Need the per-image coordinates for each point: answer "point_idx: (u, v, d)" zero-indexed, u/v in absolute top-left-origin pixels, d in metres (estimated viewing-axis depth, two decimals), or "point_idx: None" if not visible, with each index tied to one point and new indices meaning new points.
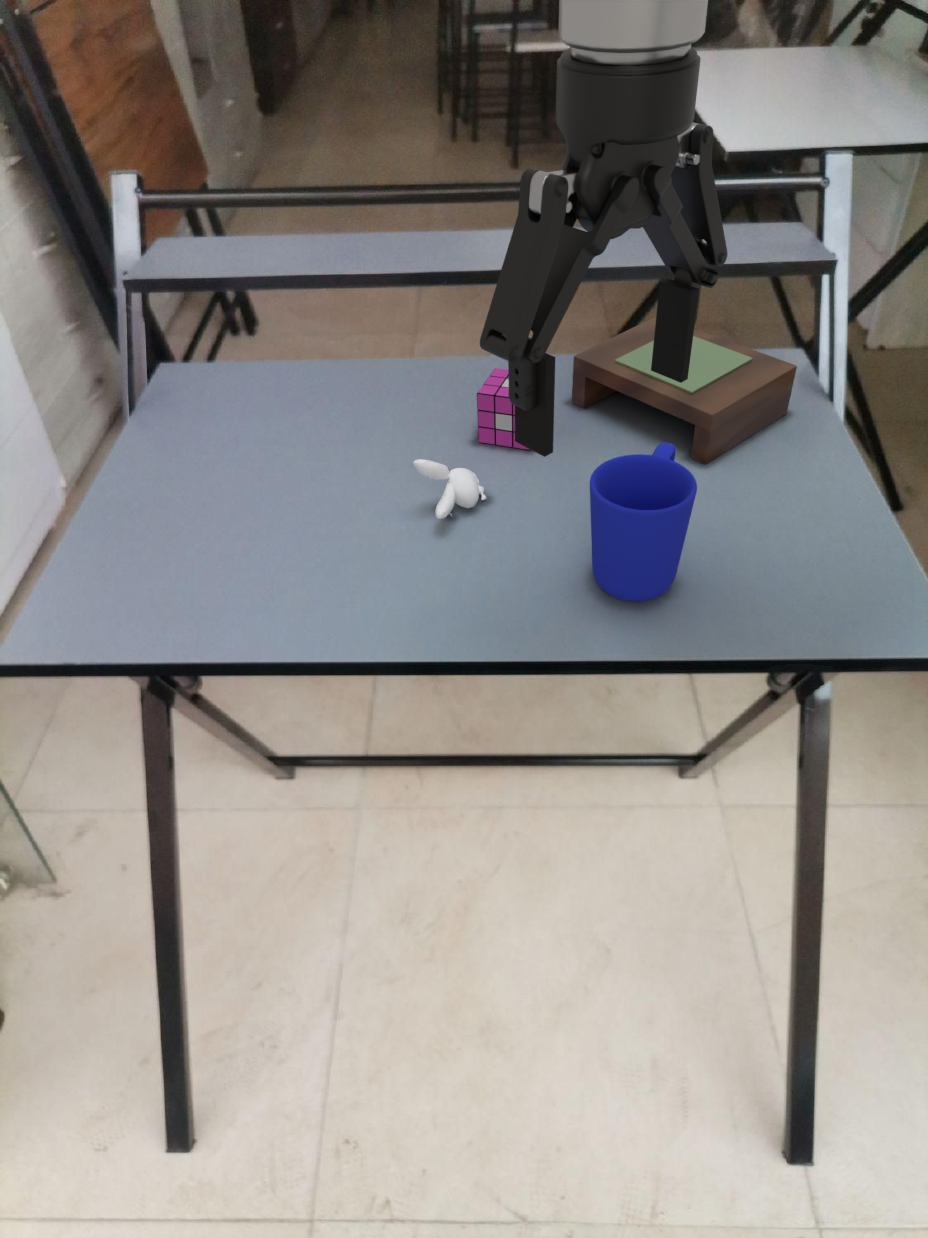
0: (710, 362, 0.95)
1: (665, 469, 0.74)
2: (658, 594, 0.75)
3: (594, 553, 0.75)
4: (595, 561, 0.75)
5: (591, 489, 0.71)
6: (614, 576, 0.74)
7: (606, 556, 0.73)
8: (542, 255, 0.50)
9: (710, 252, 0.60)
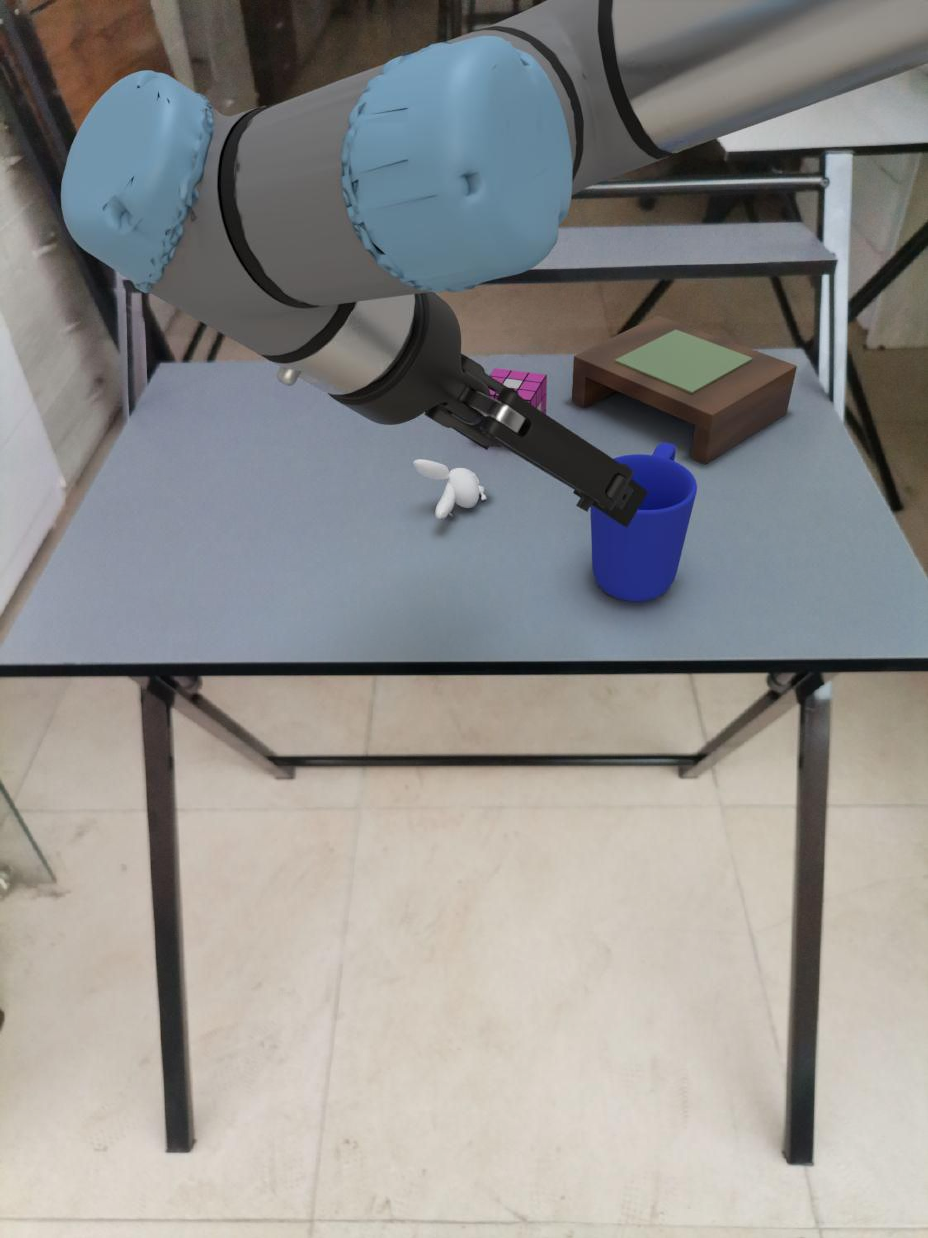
0: (710, 362, 0.95)
1: (665, 469, 0.74)
2: (658, 594, 0.75)
3: (594, 553, 0.75)
4: (595, 561, 0.75)
5: None
6: (614, 576, 0.74)
7: (606, 556, 0.73)
8: (559, 423, 0.50)
9: None
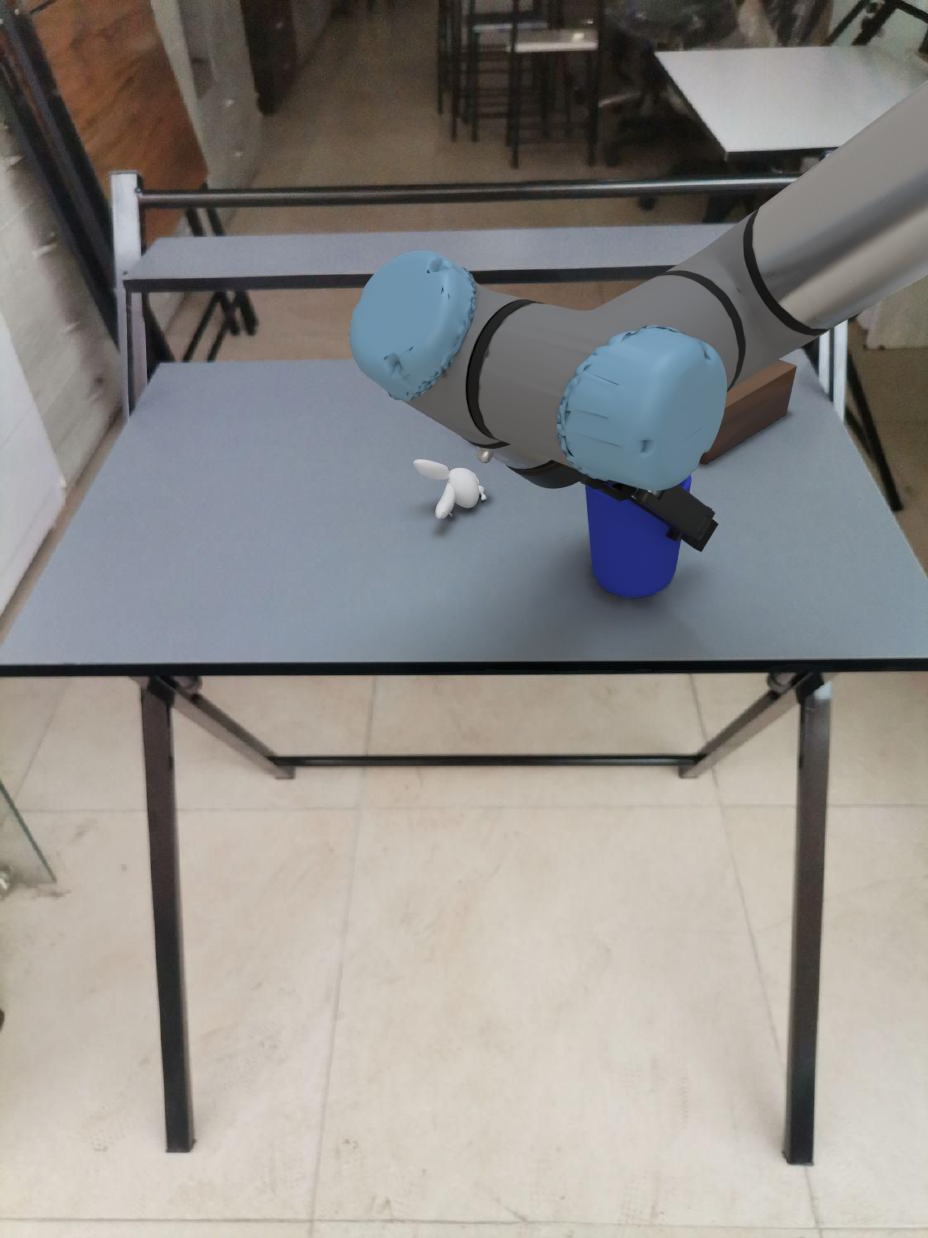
0: None
1: None
2: (658, 589, 0.75)
3: (592, 550, 0.75)
4: (594, 558, 0.75)
5: None
6: (613, 571, 0.74)
7: (604, 551, 0.73)
8: (679, 486, 0.64)
9: None
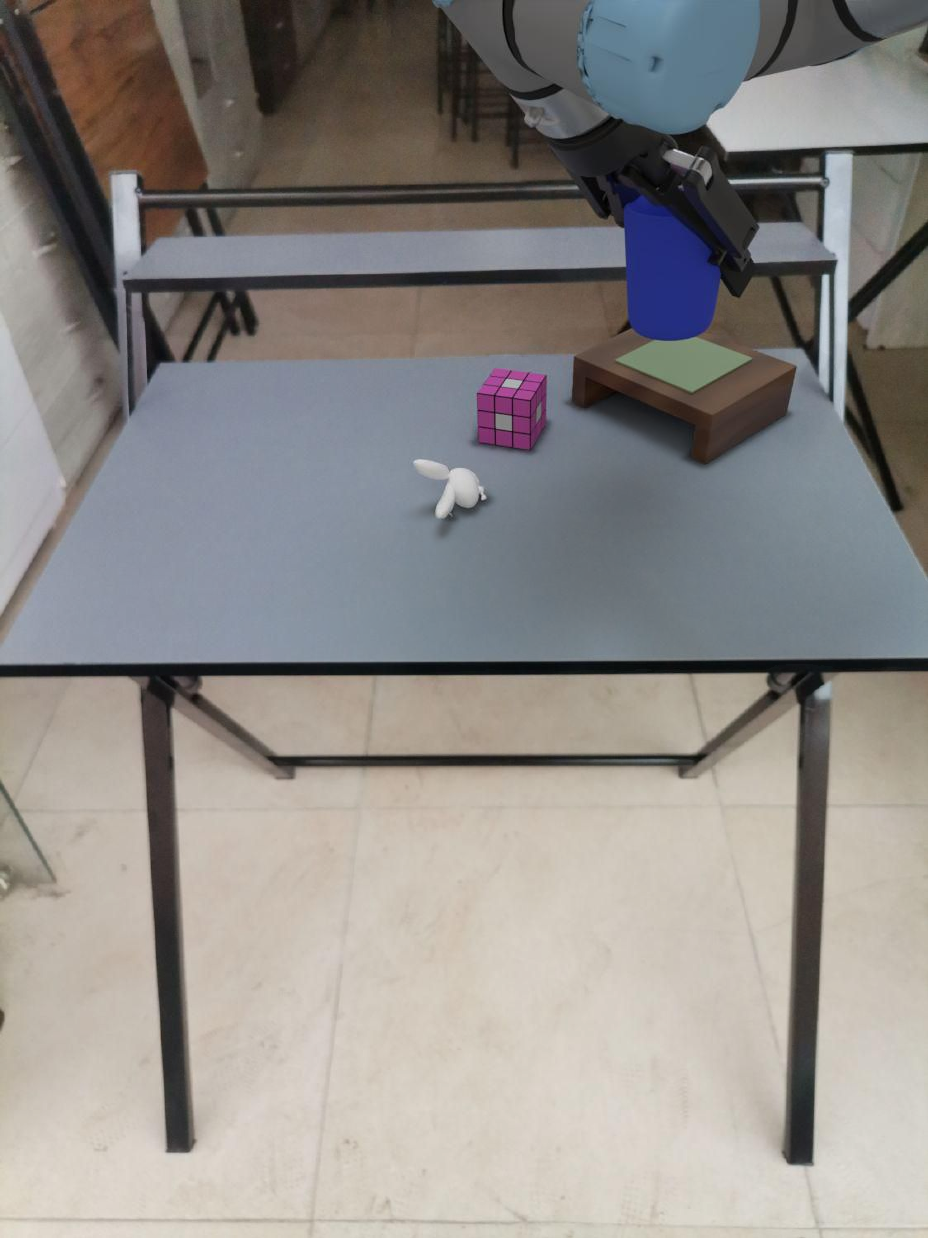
0: (710, 362, 0.95)
1: None
2: (697, 330, 0.74)
3: (630, 290, 0.74)
4: (631, 300, 0.74)
5: (625, 211, 0.70)
6: (651, 308, 0.73)
7: (643, 285, 0.72)
8: (726, 181, 0.63)
9: None
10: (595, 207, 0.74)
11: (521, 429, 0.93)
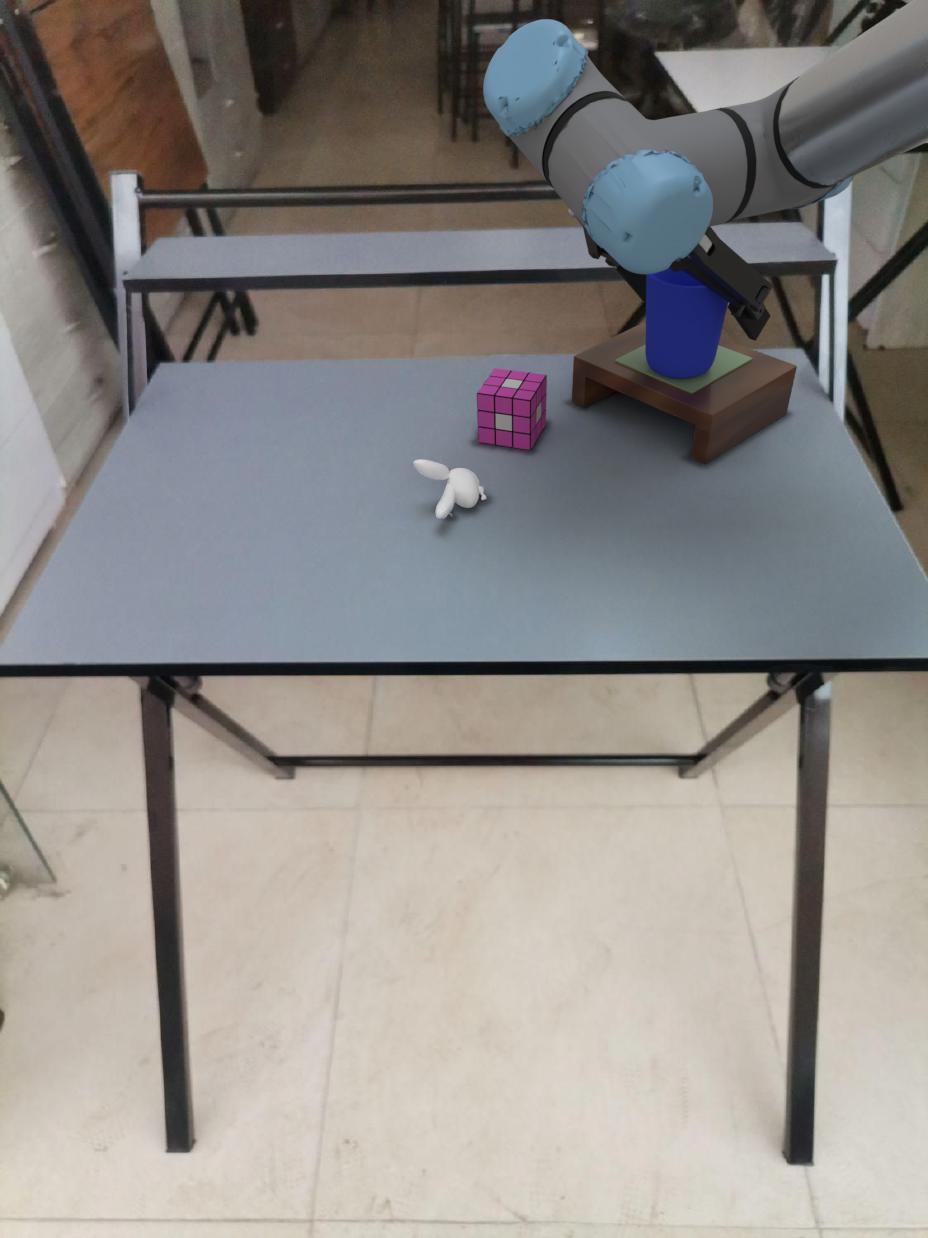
0: None
1: None
2: (701, 371, 0.91)
3: (648, 337, 0.91)
4: (649, 344, 0.92)
5: (648, 275, 0.87)
6: (665, 353, 0.90)
7: (659, 335, 0.89)
8: (730, 249, 0.79)
9: None
10: (592, 251, 0.92)
11: (521, 429, 0.93)
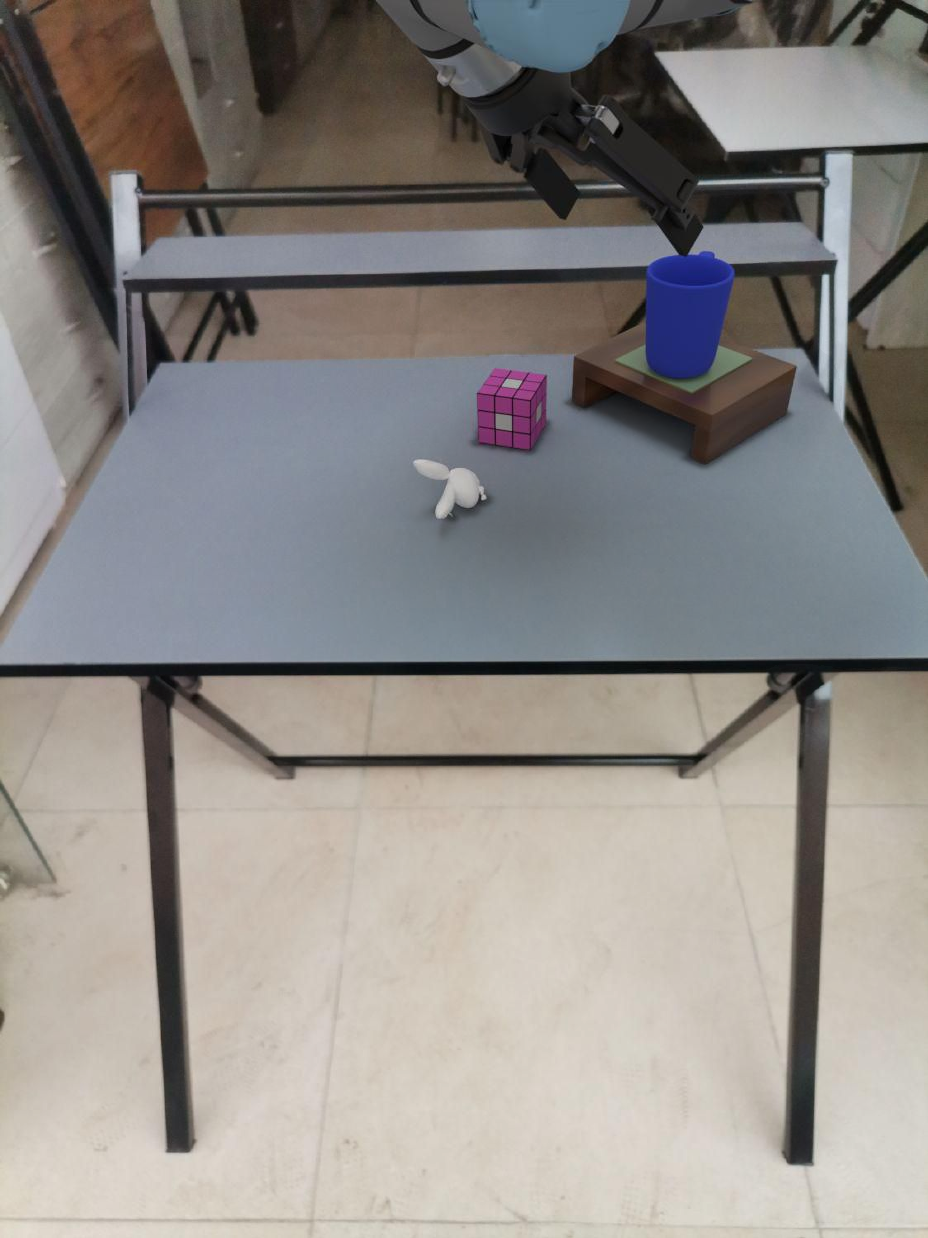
0: None
1: (707, 265, 0.90)
2: (701, 371, 0.91)
3: (648, 337, 0.91)
4: (649, 344, 0.92)
5: (648, 275, 0.87)
6: (665, 353, 0.90)
7: (659, 335, 0.89)
8: (643, 131, 0.65)
9: None
10: (494, 153, 0.78)
11: (521, 429, 0.93)
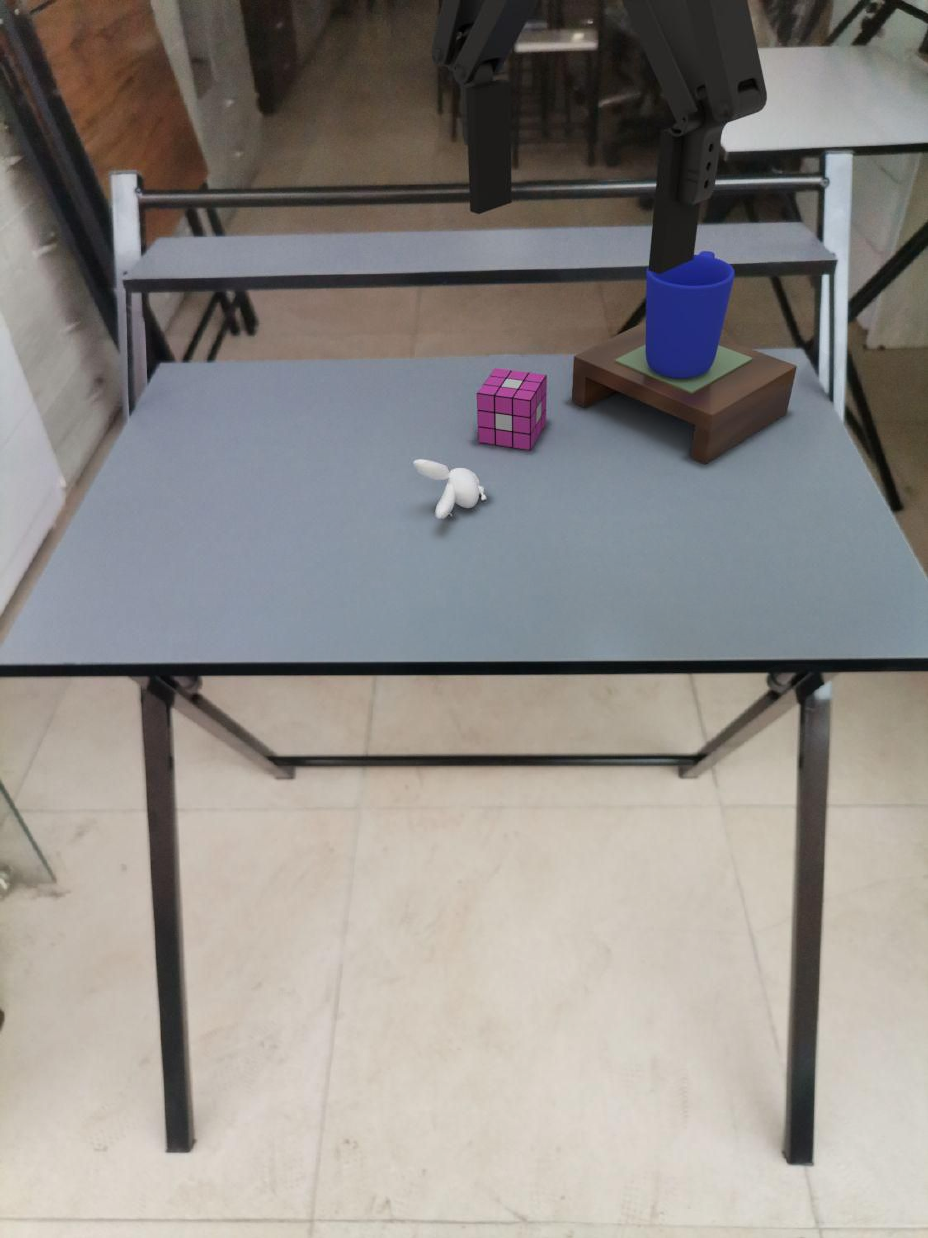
0: None
1: (707, 265, 0.90)
2: (701, 371, 0.91)
3: (648, 337, 0.91)
4: (649, 344, 0.92)
5: (648, 275, 0.87)
6: (665, 353, 0.90)
7: (659, 335, 0.89)
8: None
9: None
10: (443, 32, 0.50)
11: (521, 429, 0.93)
